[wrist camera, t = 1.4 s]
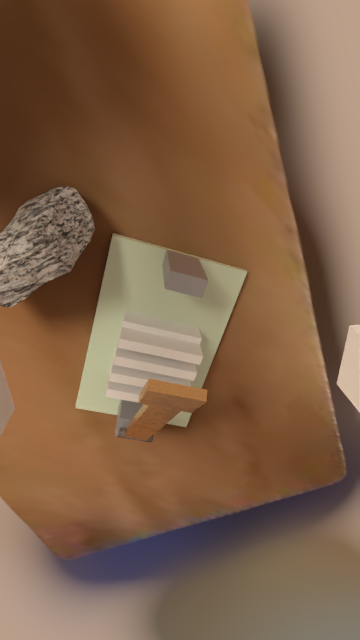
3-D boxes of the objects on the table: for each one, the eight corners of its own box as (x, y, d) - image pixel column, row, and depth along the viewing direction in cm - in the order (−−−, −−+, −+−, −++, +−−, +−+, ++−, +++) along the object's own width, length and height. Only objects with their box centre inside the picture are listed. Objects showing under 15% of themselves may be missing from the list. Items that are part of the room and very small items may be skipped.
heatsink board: (76, 403, 51) (62, 450, 43) (113, 233, 41) (104, 253, 33) (185, 422, 54) (191, 469, 46) (245, 269, 44) (266, 295, 36)
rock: (-6, 298, 43) (-29, 332, 34) (-52, 237, 39) (-92, 258, 30) (108, 242, 44) (115, 261, 35) (74, 176, 40) (72, 179, 31)
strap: (153, 434, 46) (152, 443, 46) (116, 427, 45) (115, 437, 45) (207, 388, 29) (206, 402, 28) (149, 377, 28) (147, 391, 27)
